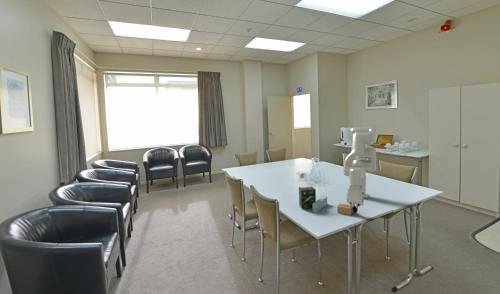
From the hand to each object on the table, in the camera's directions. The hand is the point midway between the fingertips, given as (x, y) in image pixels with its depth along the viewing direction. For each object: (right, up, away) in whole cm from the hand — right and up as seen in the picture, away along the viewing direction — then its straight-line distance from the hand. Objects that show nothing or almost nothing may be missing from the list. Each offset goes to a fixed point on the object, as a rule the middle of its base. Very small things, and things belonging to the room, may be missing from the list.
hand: (355, 212), depth 166 cm
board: (-20, -1, +15) cm, 25 cm away
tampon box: (-28, -1, +19) cm, 34 cm away
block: (-5, -2, +5) cm, 7 cm away
